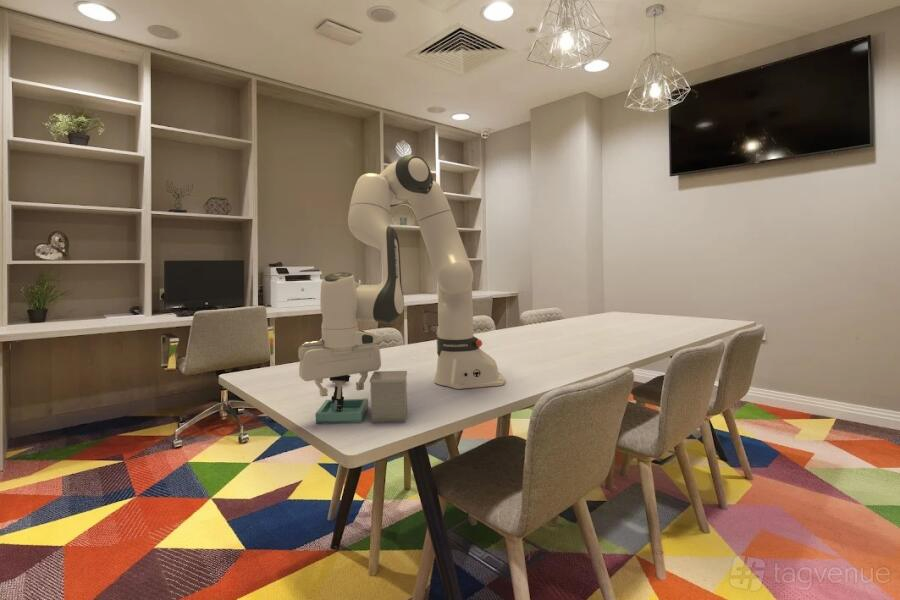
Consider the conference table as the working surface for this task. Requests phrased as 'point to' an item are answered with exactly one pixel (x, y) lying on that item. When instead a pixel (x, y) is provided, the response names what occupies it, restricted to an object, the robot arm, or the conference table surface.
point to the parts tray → (342, 412)
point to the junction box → (388, 396)
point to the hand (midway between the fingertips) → (342, 392)
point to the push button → (338, 392)
